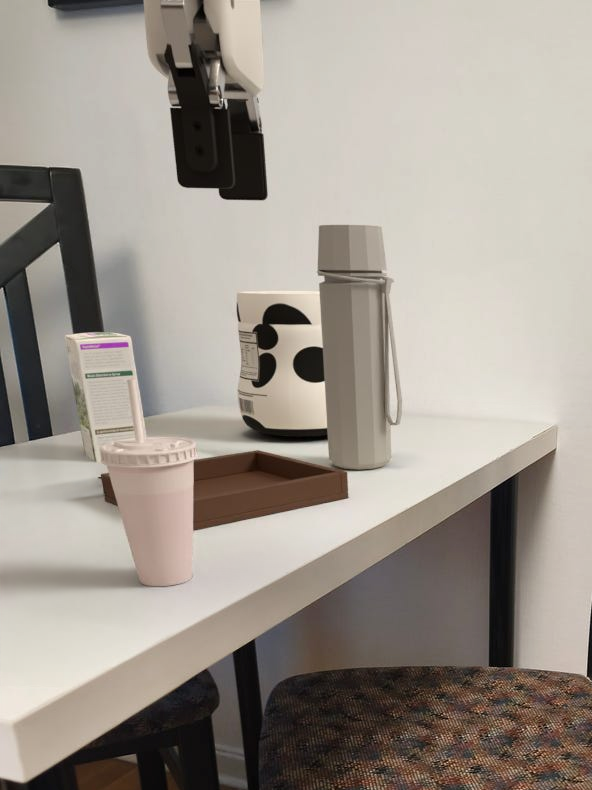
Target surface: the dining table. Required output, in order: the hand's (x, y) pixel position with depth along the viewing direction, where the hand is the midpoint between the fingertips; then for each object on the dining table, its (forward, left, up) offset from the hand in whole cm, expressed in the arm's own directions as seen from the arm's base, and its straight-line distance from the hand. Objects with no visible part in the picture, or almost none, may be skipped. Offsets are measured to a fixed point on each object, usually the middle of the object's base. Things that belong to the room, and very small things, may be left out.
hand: (226, 194), depth 56 cm
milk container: (+38, +48, -26) cm, 66 cm away
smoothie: (-6, +4, -25) cm, 26 cm away
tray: (+10, +22, -25) cm, 35 cm away
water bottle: (+30, +25, -25) cm, 47 cm away
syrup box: (+8, +41, -26) cm, 49 cm away
